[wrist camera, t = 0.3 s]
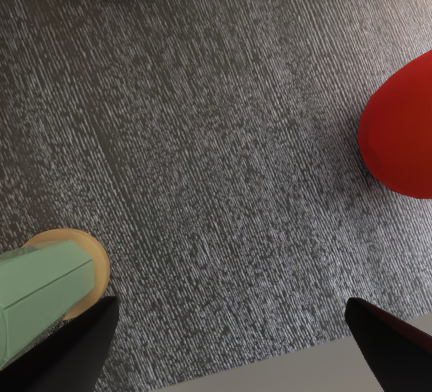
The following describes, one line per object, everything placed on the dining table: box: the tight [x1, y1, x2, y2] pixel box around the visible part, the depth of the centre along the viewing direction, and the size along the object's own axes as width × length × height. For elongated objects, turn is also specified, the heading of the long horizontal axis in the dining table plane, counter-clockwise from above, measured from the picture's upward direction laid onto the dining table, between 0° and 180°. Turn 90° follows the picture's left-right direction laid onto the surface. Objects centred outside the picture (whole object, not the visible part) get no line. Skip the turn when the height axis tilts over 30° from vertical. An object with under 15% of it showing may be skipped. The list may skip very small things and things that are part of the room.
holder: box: [22, 228, 110, 320], centre depth 19 cm, size 9×9×6 cm
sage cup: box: [0, 240, 95, 371], centre depth 16 cm, size 7×7×10 cm
